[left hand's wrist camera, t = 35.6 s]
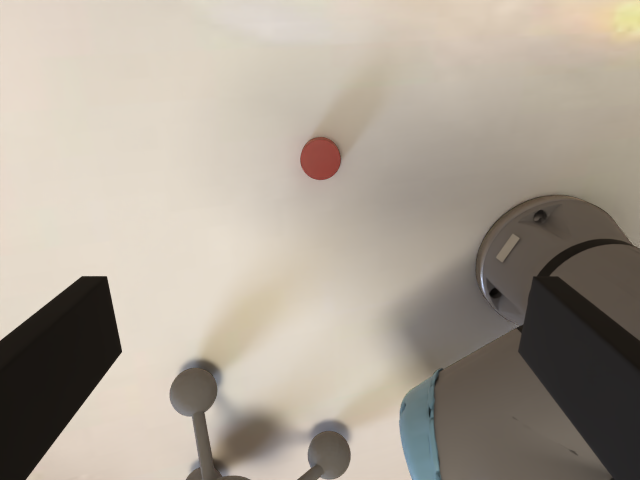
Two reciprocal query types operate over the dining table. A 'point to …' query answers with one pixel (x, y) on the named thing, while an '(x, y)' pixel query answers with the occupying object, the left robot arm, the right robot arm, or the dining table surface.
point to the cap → (320, 158)
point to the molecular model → (193, 400)
